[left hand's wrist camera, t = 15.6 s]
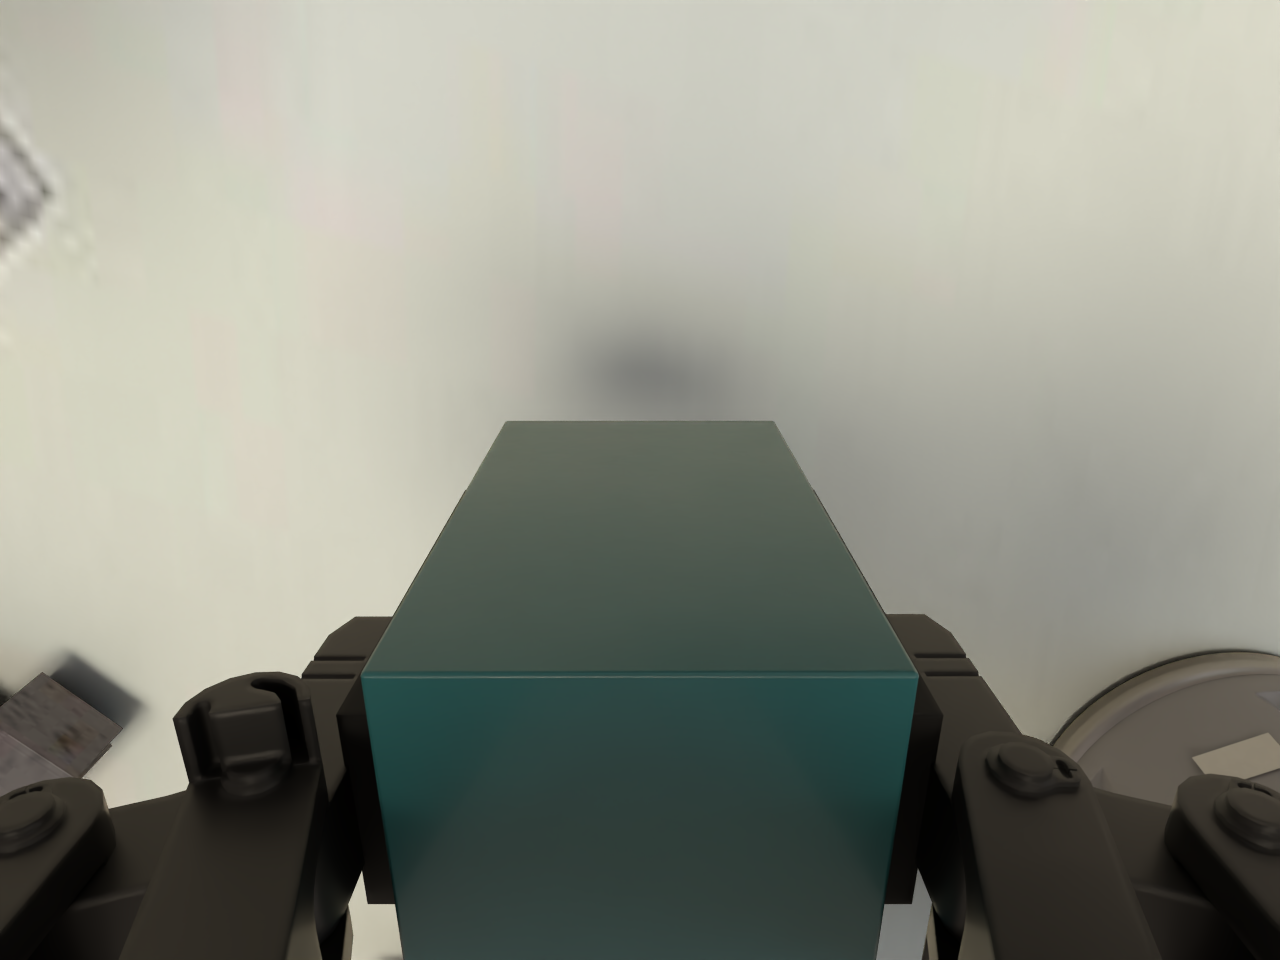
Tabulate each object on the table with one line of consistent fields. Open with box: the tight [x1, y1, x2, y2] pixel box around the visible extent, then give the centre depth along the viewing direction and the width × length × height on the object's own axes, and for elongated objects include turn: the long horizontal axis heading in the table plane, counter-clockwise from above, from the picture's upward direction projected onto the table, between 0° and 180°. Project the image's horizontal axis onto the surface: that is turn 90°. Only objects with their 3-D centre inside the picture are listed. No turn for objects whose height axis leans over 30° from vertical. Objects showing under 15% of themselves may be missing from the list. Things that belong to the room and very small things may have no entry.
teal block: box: [361, 421, 919, 960], centre depth 11 cm, size 5×5×8 cm
